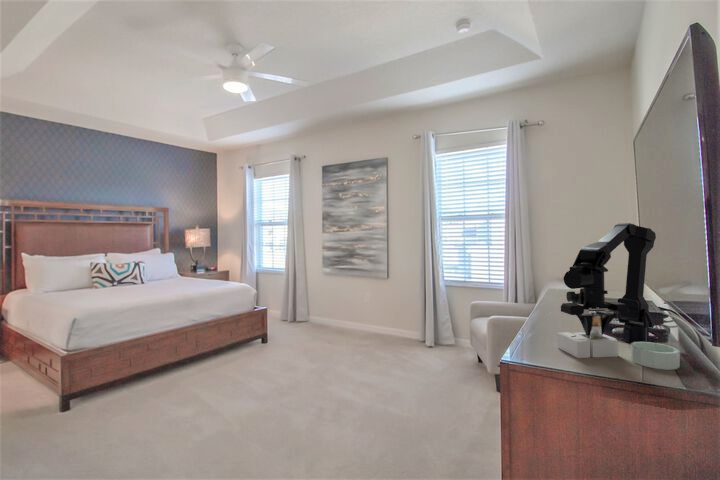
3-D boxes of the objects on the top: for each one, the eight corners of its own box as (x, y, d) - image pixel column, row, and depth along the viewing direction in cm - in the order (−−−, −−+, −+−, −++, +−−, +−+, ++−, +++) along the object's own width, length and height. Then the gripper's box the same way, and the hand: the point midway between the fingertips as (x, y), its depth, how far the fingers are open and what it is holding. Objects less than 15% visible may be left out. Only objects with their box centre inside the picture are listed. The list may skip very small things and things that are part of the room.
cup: (655, 355, 108) (655, 341, 108) (689, 368, 98) (689, 352, 98) (622, 357, 108) (622, 342, 108) (652, 370, 97) (652, 353, 97)
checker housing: (557, 347, 118) (557, 331, 118) (598, 346, 119) (597, 330, 119) (577, 357, 108) (577, 340, 108) (621, 356, 109) (621, 338, 109)
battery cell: (595, 340, 115) (595, 311, 115) (605, 344, 111) (604, 314, 111) (583, 341, 115) (583, 311, 115) (592, 344, 111) (592, 314, 111)
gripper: (603, 282, 122) (603, 327, 122) (550, 283, 121) (551, 329, 121) (629, 287, 110) (630, 336, 111) (571, 288, 110) (572, 338, 110)
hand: (594, 334), depth 113 cm, fingers closed on battery cell, 4 cm apart
